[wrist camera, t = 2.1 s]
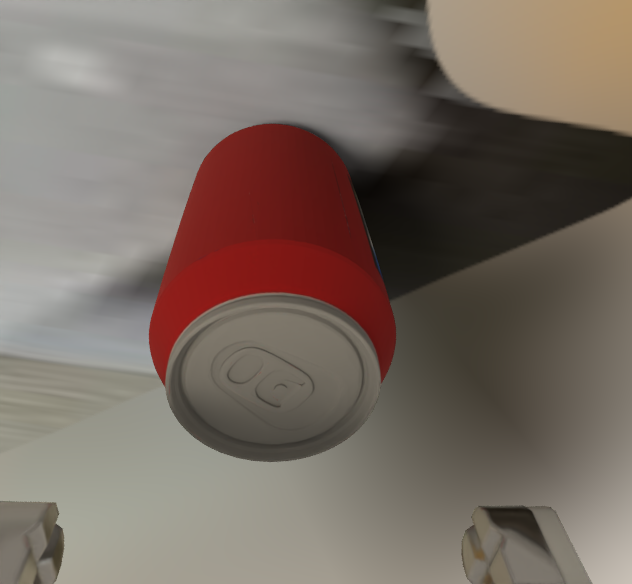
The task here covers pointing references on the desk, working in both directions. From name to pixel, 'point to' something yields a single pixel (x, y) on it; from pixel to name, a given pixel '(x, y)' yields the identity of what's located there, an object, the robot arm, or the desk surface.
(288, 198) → the beverage can
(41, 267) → the desk surface
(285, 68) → the desk surface
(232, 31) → the desk surface
